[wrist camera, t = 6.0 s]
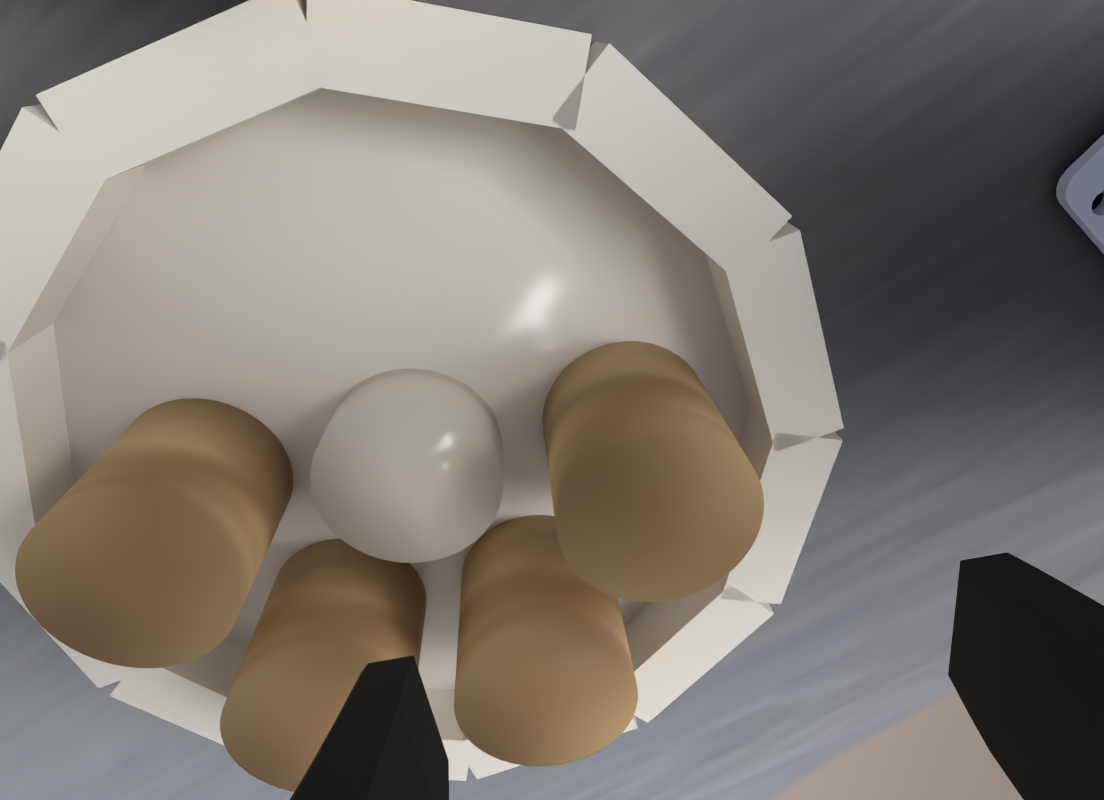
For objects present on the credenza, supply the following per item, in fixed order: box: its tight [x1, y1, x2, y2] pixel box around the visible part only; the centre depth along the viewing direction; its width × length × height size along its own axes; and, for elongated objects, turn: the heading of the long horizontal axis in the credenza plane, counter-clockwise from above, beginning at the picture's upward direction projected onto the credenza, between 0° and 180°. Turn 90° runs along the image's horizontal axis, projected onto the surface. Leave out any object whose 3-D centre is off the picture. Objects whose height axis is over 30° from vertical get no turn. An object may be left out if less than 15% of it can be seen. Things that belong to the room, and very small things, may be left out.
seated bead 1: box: [15, 398, 293, 668], centre depth 15 cm, size 4×4×4 cm
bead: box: [542, 341, 764, 602], centre depth 15 cm, size 4×4×4 cm
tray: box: [0, 0, 844, 781], centre depth 17 cm, size 18×18×2 cm
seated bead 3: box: [454, 515, 638, 766], centre depth 17 cm, size 4×4×4 cm
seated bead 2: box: [220, 539, 426, 792], centre depth 17 cm, size 4×4×4 cm
